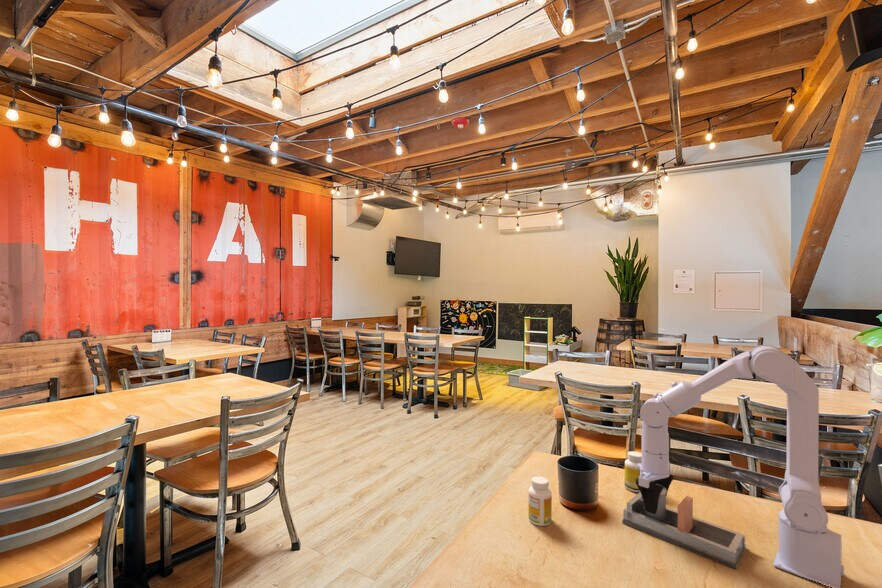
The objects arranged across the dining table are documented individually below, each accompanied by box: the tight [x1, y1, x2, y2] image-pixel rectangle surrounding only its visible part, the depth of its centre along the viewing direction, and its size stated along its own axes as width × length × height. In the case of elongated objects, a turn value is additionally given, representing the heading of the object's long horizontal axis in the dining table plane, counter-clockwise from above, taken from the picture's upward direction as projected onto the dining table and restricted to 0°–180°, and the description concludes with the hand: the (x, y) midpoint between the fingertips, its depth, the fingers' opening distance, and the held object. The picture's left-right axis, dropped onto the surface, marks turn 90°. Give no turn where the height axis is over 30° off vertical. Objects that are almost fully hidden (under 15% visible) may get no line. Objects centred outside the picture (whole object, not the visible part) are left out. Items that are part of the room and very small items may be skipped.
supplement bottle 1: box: [528, 476, 553, 527], centre depth 96 cm, size 5×5×10 cm
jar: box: [644, 484, 668, 521], centre depth 95 cm, size 5×5×6 cm
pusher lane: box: [621, 492, 747, 570], centre depth 91 cm, size 22×10×5 cm, turn 43°
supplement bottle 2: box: [623, 450, 642, 493], centre depth 113 cm, size 5×5×10 cm
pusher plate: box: [677, 495, 694, 533], centre depth 90 cm, size 1×6×7 cm, turn 133°
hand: (654, 508), depth 95 cm, fingers closed on jar, 5 cm apart
